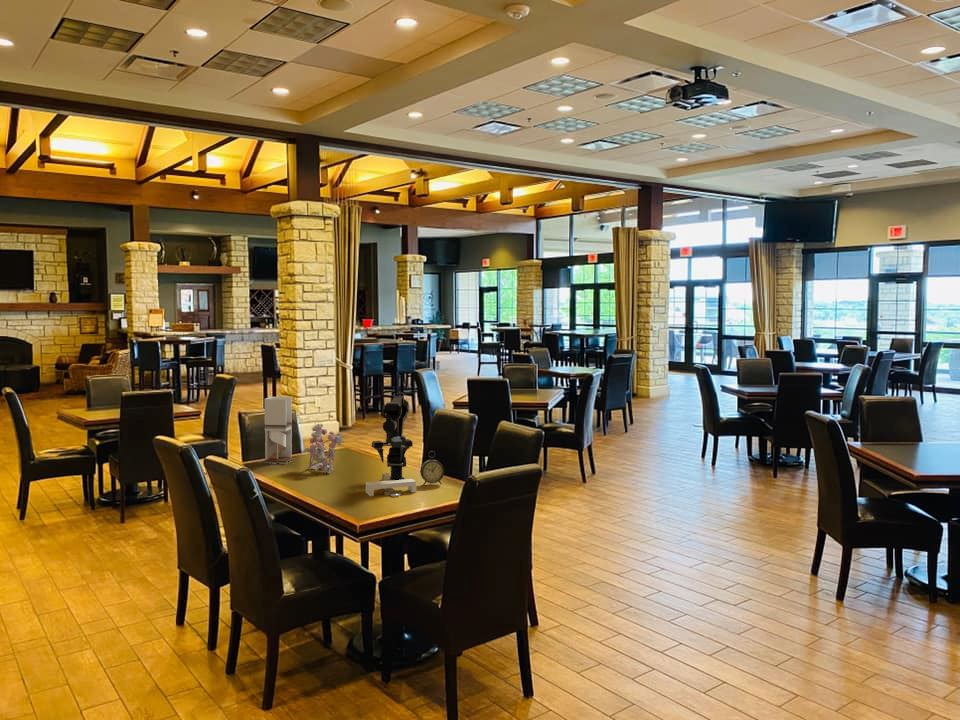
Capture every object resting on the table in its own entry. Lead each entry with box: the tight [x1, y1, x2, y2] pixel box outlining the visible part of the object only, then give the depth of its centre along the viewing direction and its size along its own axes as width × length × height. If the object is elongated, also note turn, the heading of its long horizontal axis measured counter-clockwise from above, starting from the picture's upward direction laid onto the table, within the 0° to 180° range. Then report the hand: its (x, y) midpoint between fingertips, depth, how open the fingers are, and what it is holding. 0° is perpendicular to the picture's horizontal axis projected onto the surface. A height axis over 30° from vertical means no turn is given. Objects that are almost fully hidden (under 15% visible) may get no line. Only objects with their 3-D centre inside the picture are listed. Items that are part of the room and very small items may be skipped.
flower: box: [300, 422, 345, 474], centre depth 381 cm, size 20×22×25 cm
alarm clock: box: [419, 450, 445, 486], centre depth 356 cm, size 11×5×16 cm, turn 105°
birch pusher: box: [381, 472, 403, 496], centre depth 341 cm, size 14×8×7 cm, turn 24°
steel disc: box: [389, 493, 401, 498], centre depth 333 cm, size 4×4×1 cm
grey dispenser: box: [264, 396, 293, 464], centre depth 401 cm, size 11×11×35 cm
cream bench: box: [365, 478, 417, 497], centre depth 338 cm, size 6×22×5 cm, turn 114°
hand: (392, 461), depth 354 cm, fingers open, 9 cm apart
